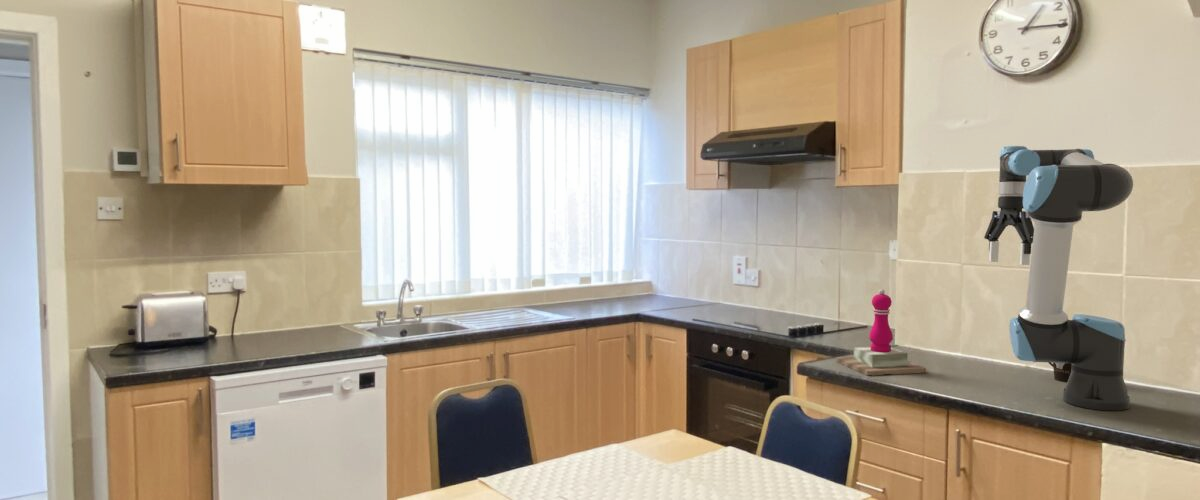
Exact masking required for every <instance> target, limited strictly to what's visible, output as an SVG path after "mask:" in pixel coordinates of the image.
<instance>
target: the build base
mask: <svg viewBox="0 0 1200 500" xmlns="http://www.w3.org/2000/svg"><path fill="white" fill-rule="evenodd" d="M870 347H871V346H860V347H859V346H857V347H856V346H855V347H853V356H839V357H838V356H837V357H836V363H838V362H840V363H842V364H841V365H843V364H844V365H843V366H845V365H846V366H845V367H847V366H848V367H847V368H849V367H850V369H851V368H852V369H851V370H853V369H854V370H853V371H856V372H858V373H860V372H861V374H862V373H863V374H862V375H864V374H865V375H864V376H866V375H867V377H869V376H868V375H872V376H885V375H884V374H892V375H908V374H909V375H911V374H926V373H927V368H926V367H925V366H922V365H919V364H916V363H914V362H911V361H909V360H908V354H909V353H907V352H904V351H903V350H899V349H897V348H894V347H891V351H890V352H875V351H872V350H871V349H870ZM840 363H839V364H840Z"/></svg>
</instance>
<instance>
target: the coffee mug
mask: <svg viewBox="0 0 1200 500" xmlns="http://www.w3.org/2000/svg"><path fill="white" fill-rule="evenodd" d="M1047 363H1048V364H1049V365H1050V366H1051V367H1052V368H1053V377H1054V380H1055V381H1058V382H1061V383H1067V382H1068V379H1069V377H1070V374H1071V366H1072V363H1050V362H1047Z"/></svg>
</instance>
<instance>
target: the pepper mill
mask: <svg viewBox="0 0 1200 500" xmlns="http://www.w3.org/2000/svg"><path fill="white" fill-rule="evenodd" d="M885 292H886V291H885V290H884V289H879V290H878V293H877V294H875V295H873V297H872V298H871V306H873V309H872V310H873V311H872V314H874V319H873V320H874V321H873V324H872V326H871V329H870V331H869V335H868V338H869V340H870V342H871V343H870V346H869V347H870V349H871V350H872V351H875V352H890V351H891V348H892V346H891V342H893V340H894V338H893V336H894V335H893V331H892V330H891V327H890V324H889V315H890V311H891V310H890V307H891V306H892V302H893V301H892V298H891V297H890V295H887V294H886V293H885Z"/></svg>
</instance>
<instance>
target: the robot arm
mask: <svg viewBox="0 0 1200 500" xmlns="http://www.w3.org/2000/svg"><path fill="white" fill-rule="evenodd" d="M998 178H999V180H998V181H999V182H998V190H997V191H998V195H1000V196H998V198H997V199H998V200H997V207H998V209H1000V210H993V211H992V215H991V220H990V222H989V224H988V226H987V229H986V231H985V234H984V239H985V240H987V241H988V242H989V244H988V252H989V257H988V259H989V260H988V261H989V263H991V262H993V263H998V262H999V250H1000V249H999V246H1000V242H999V239H1000V237H1001V235H1002V234H1003V233H1004V231H1005V229H1006V228H1007V227H1008V226H1012V227H1014V228H1015V230H1016V232H1017V234H1018V236H1019V238H1020V239H1021V243H1020V253H1019V256H1020V257H1019V266H1022V265H1023V266H1026V265H1027V266H1029V272H1028V283H1027V289H1026V290H1027V291H1026V301H1025V306H1023V307H1021V308H1020V309H1019V310H1018V315H1017V317H1012V318H1011V319H1010V320H1009V325H1008V327H1009V329H1008V330H1009V337H1010V339H1009V340H1010V344H1011V347H1012V352H1013V353H1014V354H1013V355H1014V356H1015V358H1016V359H1018V360H1019V361H1024V362H1032V363H1036V362H1037V363H1048V362H1050V363H1052V364H1053V363H1072V366H1071V374H1070V377H1069V379H1068V382H1066V385H1065V387H1064V388H1063V390H1062V400H1063V401H1064V402H1065V403H1067V404H1070V405H1072V406H1077V407H1079V408H1084V409H1092V410H1098V411H1110V412H1111V411H1113V412H1114V411H1125V410H1128V409H1130V408H1131V407H1130V406H1131V398H1130V396H1129V395H1128V394H1129V393H1128V389H1127V385H1126V383H1125V380H1124V368H1125V367H1124V365H1125V344H1126V343H1125V342H1126V341H1127V340H1126V334H1125V333H1126V331H1125V325H1124V324H1122V323H1121V322H1120V321H1117V320H1114V319H1111V318H1106V317H1101V316H1096V315H1091V314H1090V315H1089V314H1078V313H1077V314H1074V315H1073V316H1072V319H1069V315H1068V314H1067V313H1066V312H1065V311H1064V309H1063V308H1064V304H1065V303H1064V302H1065V293H1066V286H1067V277H1068V270H1069V262H1070V255H1071V246H1072V238H1073V232H1074V231H1073V229H1074V226H1075V225H1076V224H1078V223H1079V222H1081V220H1082V216H1083V212H1101V211H1106V210H1110V209H1113V208H1115V207H1117V206H1119V205H1121V204H1122V203H1124V202H1125V201H1126V200H1127V199H1128V198H1129V197H1130V195H1131V194H1132V191H1133V188H1134V179H1133V177H1132V175H1131V173H1130V172H1129V171H1128V170H1127V169H1125V168H1124V167H1122V166H1120V165H1118V164H1115V163H1103V162H1101V161H1099V160H1097V159H1095V155H1094V152H1093V151H1092V150H1091V149H1086V148H1085V149H1084V148H1075V149H1074V148H1072V149H1071V148H1070V149H1029V148H1027V147H1026V146H1024V145H1011V146H1010V145H1009V146H1003V147H1002V148H1001V149H1000V155H999V177H998ZM1023 209H1024V210H1023ZM1033 223H1034V225H1033Z"/></svg>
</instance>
